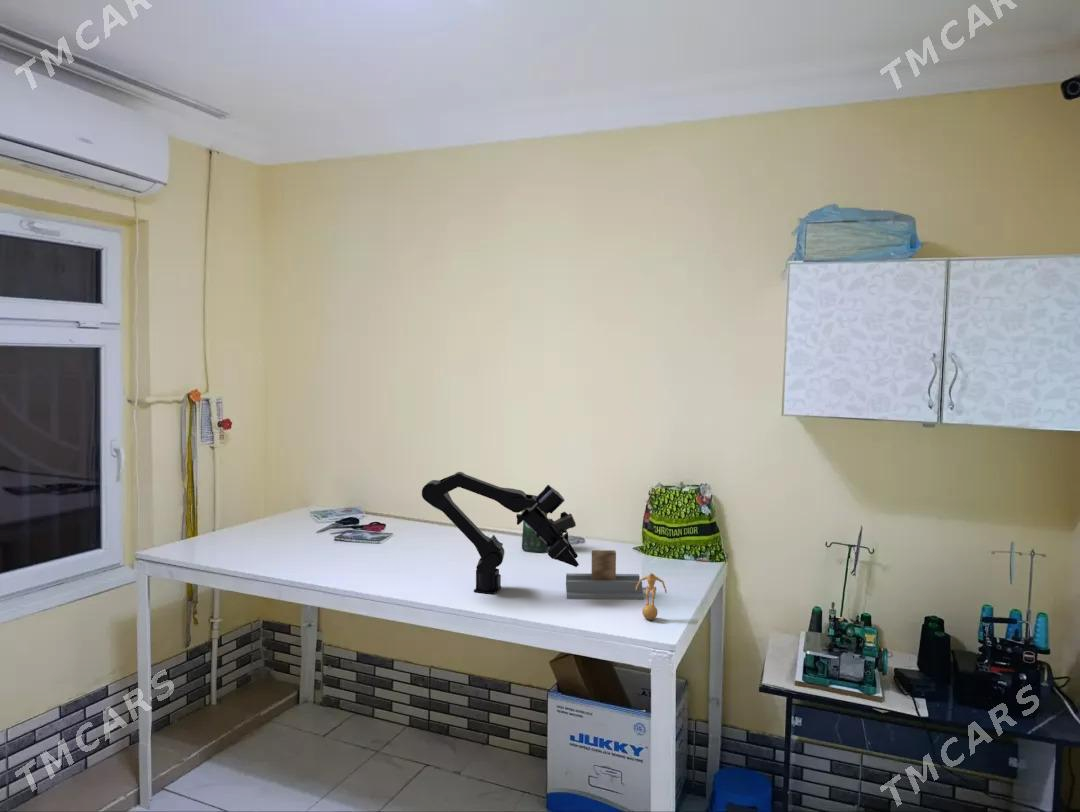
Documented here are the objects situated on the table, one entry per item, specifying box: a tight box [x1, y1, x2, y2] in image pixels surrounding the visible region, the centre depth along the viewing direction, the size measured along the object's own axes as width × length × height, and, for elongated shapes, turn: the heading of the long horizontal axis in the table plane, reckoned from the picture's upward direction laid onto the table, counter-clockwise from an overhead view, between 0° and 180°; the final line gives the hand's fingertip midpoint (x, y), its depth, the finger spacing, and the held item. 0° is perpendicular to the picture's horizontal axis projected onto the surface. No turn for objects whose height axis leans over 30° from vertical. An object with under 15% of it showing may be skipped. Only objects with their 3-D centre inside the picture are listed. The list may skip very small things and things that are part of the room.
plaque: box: [591, 549, 617, 580], centre depth 214 cm, size 7×2×11 cm, turn 89°
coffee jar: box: [520, 507, 549, 553], centre depth 260 cm, size 10×8×19 cm
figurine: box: [635, 572, 668, 621], centre depth 191 cm, size 8×6×12 cm
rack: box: [565, 572, 644, 600], centre depth 214 cm, size 22×14×4 cm, turn 89°
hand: (577, 561), depth 214 cm, fingers open, 9 cm apart
